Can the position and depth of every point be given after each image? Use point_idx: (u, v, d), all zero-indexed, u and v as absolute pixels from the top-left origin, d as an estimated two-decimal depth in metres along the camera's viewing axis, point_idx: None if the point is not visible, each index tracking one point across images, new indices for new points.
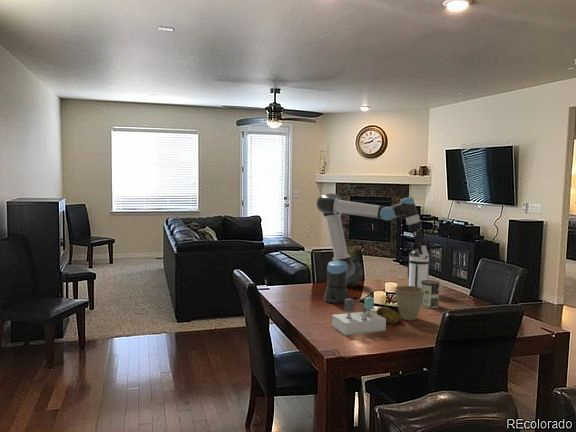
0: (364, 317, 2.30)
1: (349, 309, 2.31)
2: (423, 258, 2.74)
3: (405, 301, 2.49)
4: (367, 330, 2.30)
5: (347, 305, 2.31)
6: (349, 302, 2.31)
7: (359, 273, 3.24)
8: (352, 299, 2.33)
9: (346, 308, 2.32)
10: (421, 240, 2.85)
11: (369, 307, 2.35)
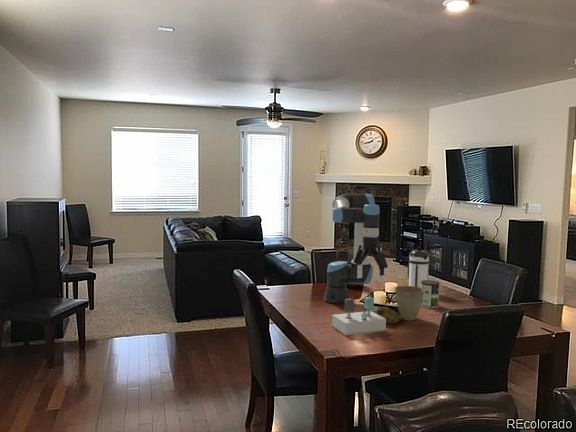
0: (364, 317, 2.30)
1: (349, 309, 2.31)
2: None
3: (405, 301, 2.49)
4: (367, 330, 2.30)
5: (347, 305, 2.31)
6: (349, 302, 2.31)
7: None
8: (352, 299, 2.33)
9: (346, 308, 2.32)
10: None
11: (369, 307, 2.35)
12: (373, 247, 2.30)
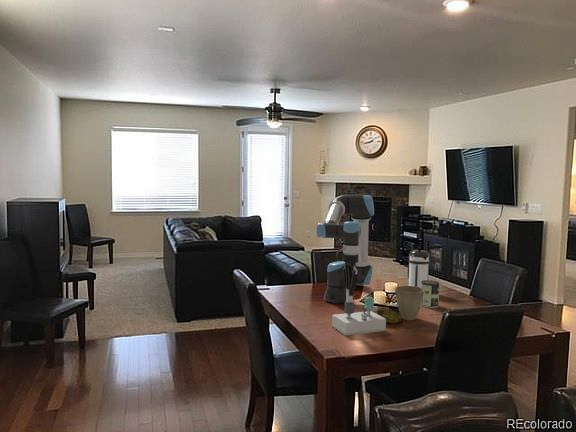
0: (364, 317, 2.30)
1: (349, 312, 2.31)
2: None
3: (405, 301, 2.49)
4: (367, 330, 2.30)
5: (347, 308, 2.32)
6: (349, 305, 2.31)
7: None
8: (352, 302, 2.34)
9: (346, 311, 2.32)
10: None
11: (369, 307, 2.35)
12: (351, 265, 2.28)
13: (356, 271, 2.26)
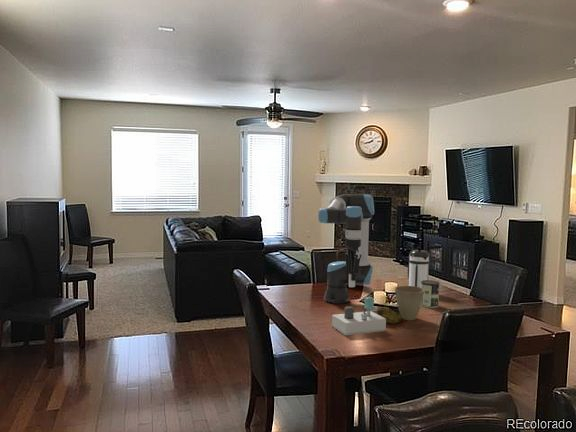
0: (364, 317, 2.30)
1: (349, 317, 2.32)
2: None
3: (405, 301, 2.49)
4: (367, 330, 2.30)
5: (347, 313, 2.32)
6: (349, 310, 2.31)
7: None
8: (352, 307, 2.34)
9: (346, 316, 2.32)
10: None
11: (369, 307, 2.35)
12: (354, 250, 2.28)
13: (358, 256, 2.26)
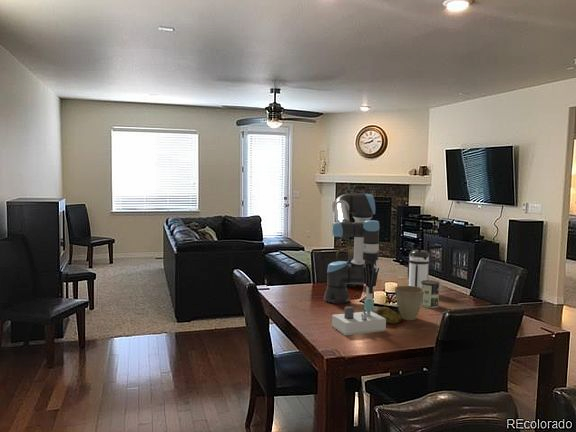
0: (364, 317, 2.30)
1: (349, 317, 2.32)
2: None
3: (405, 301, 2.49)
4: (367, 330, 2.30)
5: (347, 313, 2.32)
6: (349, 310, 2.31)
7: None
8: (352, 307, 2.34)
9: (346, 316, 2.32)
10: None
11: (369, 309, 2.35)
12: (372, 263, 2.32)
13: (376, 269, 2.30)
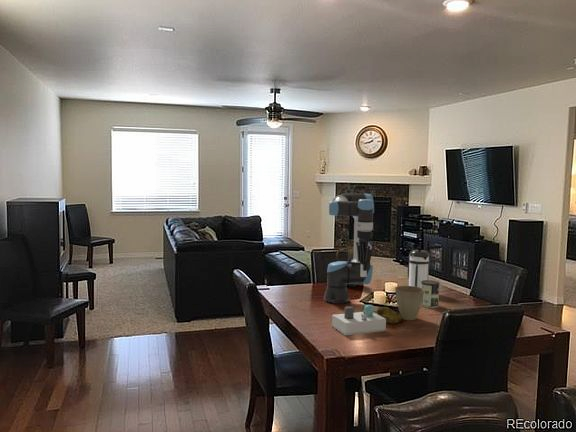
0: (364, 317, 2.30)
1: (349, 317, 2.32)
2: None
3: (405, 301, 2.49)
4: (367, 330, 2.30)
5: (347, 313, 2.32)
6: (349, 310, 2.31)
7: None
8: (352, 307, 2.34)
9: (346, 316, 2.32)
10: None
11: (369, 315, 2.36)
12: (366, 241, 2.37)
13: (370, 247, 2.35)
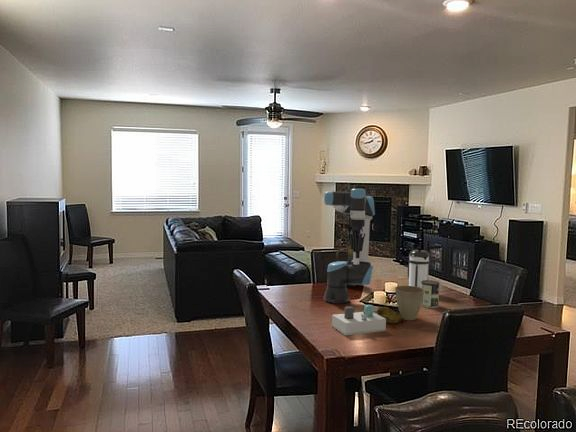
0: (364, 317, 2.30)
1: (349, 317, 2.32)
2: None
3: (405, 301, 2.49)
4: (367, 330, 2.30)
5: (347, 313, 2.32)
6: (349, 310, 2.31)
7: None
8: (352, 307, 2.34)
9: (346, 316, 2.32)
10: None
11: (369, 315, 2.36)
12: (358, 229, 2.44)
13: (363, 234, 2.42)
